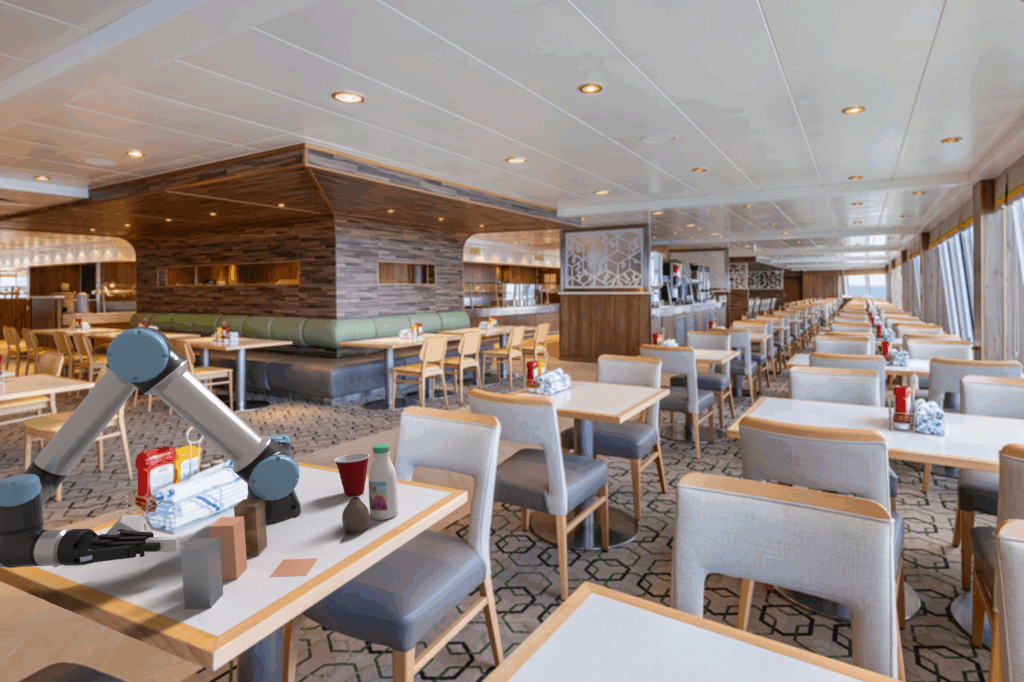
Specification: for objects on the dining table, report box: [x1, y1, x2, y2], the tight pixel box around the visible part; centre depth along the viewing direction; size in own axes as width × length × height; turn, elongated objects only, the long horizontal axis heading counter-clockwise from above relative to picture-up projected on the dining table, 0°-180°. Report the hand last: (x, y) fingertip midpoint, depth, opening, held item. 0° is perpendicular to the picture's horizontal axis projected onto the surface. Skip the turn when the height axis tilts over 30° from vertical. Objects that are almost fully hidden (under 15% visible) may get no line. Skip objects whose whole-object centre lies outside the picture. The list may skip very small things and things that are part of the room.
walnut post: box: [233, 498, 268, 557], centre depth 132 cm, size 5×5×12 cm
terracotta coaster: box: [269, 557, 319, 578], centre depth 124 cm, size 8×8×1 cm
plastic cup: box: [333, 452, 371, 498], centre depth 173 cm, size 11×11×12 cm
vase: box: [341, 496, 370, 535], centre depth 145 cm, size 7×7×9 cm
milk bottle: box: [368, 443, 399, 521], centre depth 154 cm, size 8×8×20 cm
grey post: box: [180, 537, 224, 610], centre depth 110 cm, size 5×5×12 cm
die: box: [105, 514, 153, 535], centre depth 139 cm, size 8×9×10 cm
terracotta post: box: [209, 516, 248, 581], centre depth 121 cm, size 5×5×12 cm
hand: (177, 543), depth 121 cm, fingers closed
